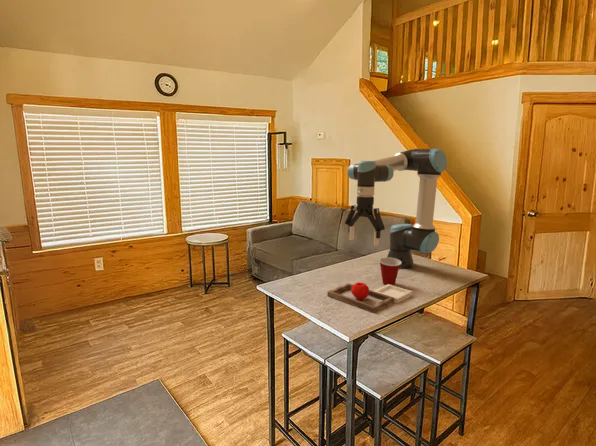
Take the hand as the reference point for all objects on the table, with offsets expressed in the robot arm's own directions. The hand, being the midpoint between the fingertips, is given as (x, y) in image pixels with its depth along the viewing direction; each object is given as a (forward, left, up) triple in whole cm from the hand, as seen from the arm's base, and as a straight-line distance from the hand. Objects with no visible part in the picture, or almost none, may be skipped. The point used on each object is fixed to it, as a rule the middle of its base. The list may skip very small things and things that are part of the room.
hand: (363, 242), depth 170 cm
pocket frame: (+8, +5, -23) cm, 25 cm away
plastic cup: (-17, +4, -24) cm, 29 cm away
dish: (-5, +13, -23) cm, 27 cm away
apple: (+8, +5, -24) cm, 25 cm away
